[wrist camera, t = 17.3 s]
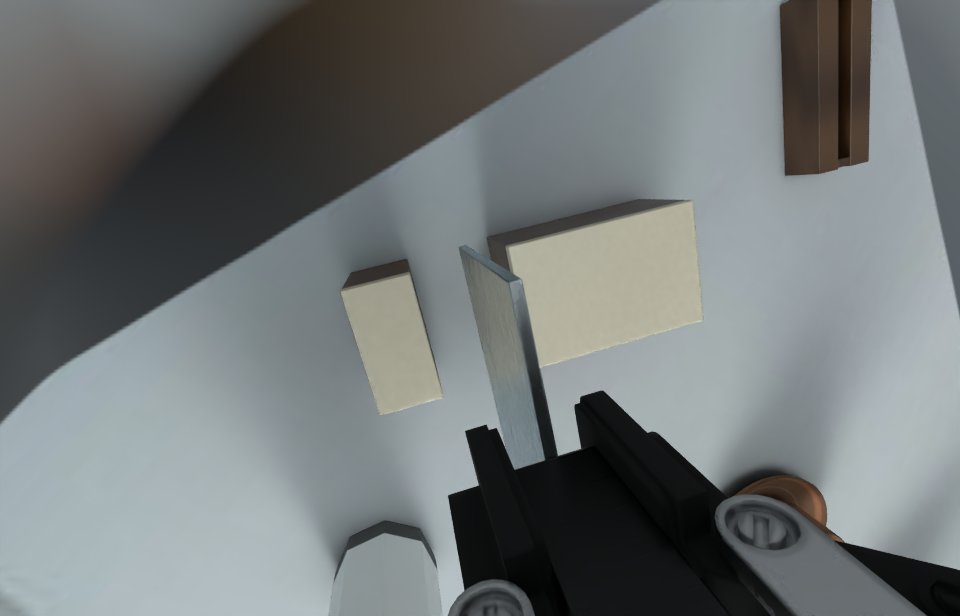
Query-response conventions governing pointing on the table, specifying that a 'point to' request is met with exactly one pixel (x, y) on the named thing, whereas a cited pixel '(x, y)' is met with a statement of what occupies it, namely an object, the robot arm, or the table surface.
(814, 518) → the cup and saucer
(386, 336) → the cake slice
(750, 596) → the robot arm
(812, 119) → the knife stand
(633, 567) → the metal dough scraper
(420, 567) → the wine bottle
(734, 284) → the table surface
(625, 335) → the cake
